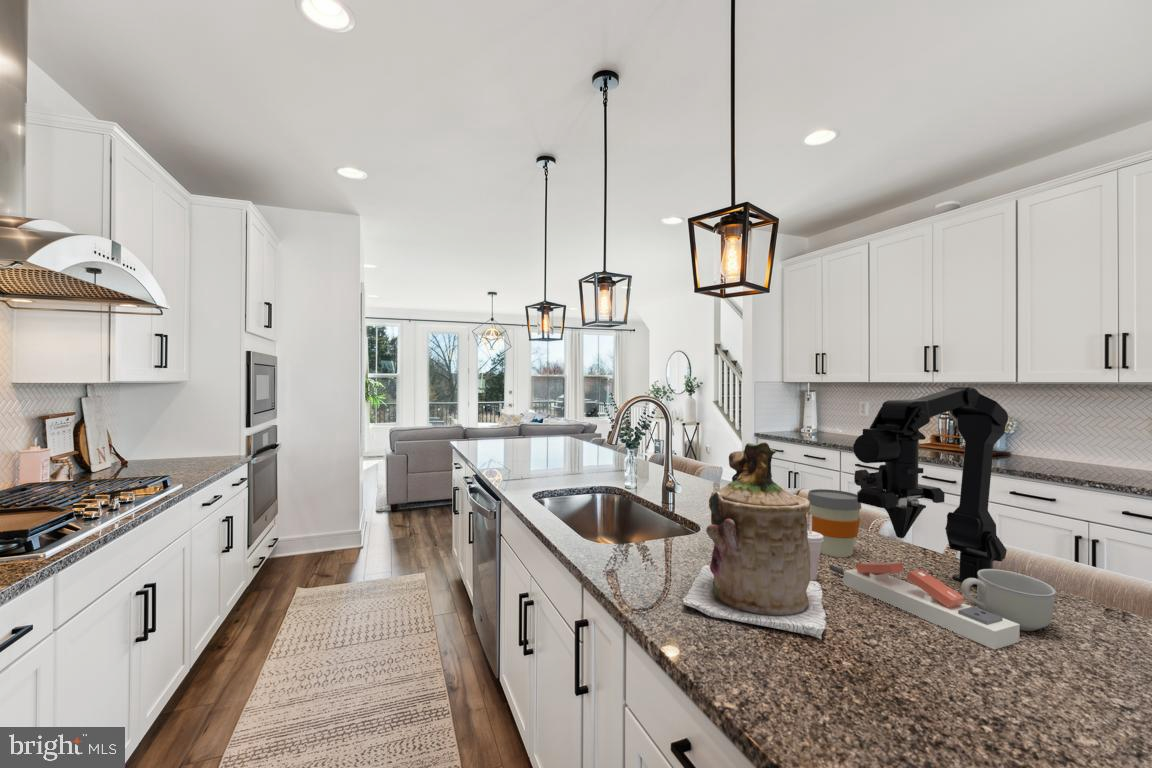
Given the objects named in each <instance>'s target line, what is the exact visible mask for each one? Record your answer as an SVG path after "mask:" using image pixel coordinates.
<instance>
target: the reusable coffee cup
mask: <svg viewBox="0 0 1152 768" xmlns="http://www.w3.org/2000/svg"><path fill="white" fill-rule="evenodd" d="M807 500H809V501H810V509H809V511H808V512H807V515H808V517H809V515H812V531H813V532H817V533H820V534H822V535H823V540H824V541H823V542H822V545H821V551H820V554H821V553H822V554H821V555H824V554H825V555H824V556H828V555H829V556H828V557H834V558H849V557H848V556H850V557H852V556H853V555H852V554H854V547H855V542H856V538H857V537H858V534H859V530H860V529H859V528H860V522H861V518H860V517H859V516H860V510H861V509H862V503H859V502H857V493H853V492H849V491H843V490H839V489H838V490H836V489H823V488H821V489H820V488H819V489H810V490H808V494H807ZM851 555H852V556H851Z"/></svg>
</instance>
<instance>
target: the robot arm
mask: <svg viewBox="0 0 1152 768" xmlns="http://www.w3.org/2000/svg"><path fill="white" fill-rule="evenodd" d="M948 412H949V414H950V415H951V416H952V417H953V418H954V419H955V420H956V421H957V422H956V423H957V425H956V426H957V430H958V432H959V435H960V436H961V437H962V439H963V440H964V450H963V451H964V452H963V462H962V463H963V464H962V473H961V483H960V484H961V485H960V493H959V494H960V496H959V504H958V506H957V508H956V509H954V511H952V512H951V511H949V512H948V513H947V514H946V525H945V527H944V529H945V534H946V538H947V542H948V547H949V549H950V550H953V551H957V552H959V573H958V574H954V575H952V576H951V577H952V579H954V580H957V581H960V582H963V581H964V580H965V579H967V578H976V579H978V575H977V572H978V571H979V570H982V569H994V562H1003V561H1004V560H1005V559H1006V556H1007V548H1006V547H1005V545H1004V544H1003V542H1002V541H1001V539H1000V538H999V537H998V535H997V524H996V522H995V520H994V518H993V517H992V515H991V514H990V512H989V503H990V502H989V499H990V490H991V489H990V488H991V477H992V467H993V454H994V446H995V445H996V443H997V442H998V441H999V440H1000V439H1001V438H1002V437H1003V436H1004V435H1005V432H1006V425H1007V424H1008V422H1009V415H1008V412H1007V411H1006V410H1005V408H1003V407H1002V406H1001V404H1000V403H998V401H996V400H994V399H992V398H990V397H988V396H985V395H983V394H981V393H980V392H979V391H978V390H977V389H975V388H973V387H971V386H950V387H947V388H946V389H944V390H941V391H938V392H933V393H930V394H928V395H925V396H921V397H918V398H915V399H889V400H888V399H887V400H886V401H884V402H883V403H882V405H881V407H880V409H879V410H878V412H877V414H876V416H875V417H874V420H873V421H872V423H871V425H870V426H869V428H863V429H862V434H861V435H858V437H857V438H856V439H855V440H854V441H855V442H854V443H853V444H852V449H853V454H854V456H855V457H856V459H857V460H859V461H860V462H861V463H864V464H876V463H877V464H879V463H884V464H880V465H879V466H878V471H875V472H869V471H868V470H867V469H858V470H854V477H853V478H854V480H853V482H854V483H855V485H856V486H858V487H859V486H860V489H859V490H858V491H857V492H856V494H857V502H859V503H861V504H864V505H868V506H872V507H875V508H880V509H884V510H885V511H886V513H887V515H888V517H889V520H890V522H891V524H892V527H893V530H894V534H895V535H896V537H897V538H899V539H904V538H905V537H906V536H907V534H908V533H909V530H910V529H911V527H912V526H913V524H914V523H915V521H916V520H917V519H918V517H919V516H920V514H921V513H922V512H923V510H924V509H926V508H927V505H925V504H922V503H920V500H919V499H926V500H931V501H932V502H933V503H936V504H940V503H945V494H946V493H945V492H944V491H943V490H942V489H941V488H940V487H937V486H931V485H926V484H920V483H919V474H924V467H919V455H920V454H919V450H920V449H919V448H920V447H919V446H920V445H919V444H920V441H924V440H926V439H927V437H926V436H925V434H923V433H922V432H921V431H920V430H919V429H921V428H923V427H925V426H926V425H928V424H929V423H930V422H931V418H933V417H936V416H938V415H942V414H945V413H948ZM972 586H974V587H977V585H976V584H973V585H972Z"/></svg>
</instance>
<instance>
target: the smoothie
mask: <svg viewBox="0 0 1152 768" xmlns="http://www.w3.org/2000/svg"><path fill="white" fill-rule="evenodd" d="M808 522H809V527H808V528H809V529H807V532H808V543H809V546H810V565H811V566H810V581H816V580H817V578H818V569H819V563H820V558H821V557H820V556H821V553H820V551H821V545H822V542H823V541H824V540H823V535H822V534H820V533H817V532H813V531H812V515H809V516H808Z"/></svg>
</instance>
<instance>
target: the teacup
mask: <svg viewBox="0 0 1152 768" xmlns="http://www.w3.org/2000/svg"><path fill="white" fill-rule="evenodd" d="M977 575H978V579H976V578H967V579H965V580H964V581H962V582H961V585H960V589H961V592H962V594H963V595H964V598H966V599H967V600H969V601H970V602H971V603H972V604H975V605H976V607H977V608H979V609H982V610H984V611H987V612H990V613H992V614H995V615H998V616H1000V617H1003V618H1004V619H1007V620H1009V621H1012V622H1015V623H1018V624H1020V631H1025V632H1026V631H1027V632H1033V631H1038V630H1040V629H1042V628H1043V629H1044V628H1046V627H1047V626H1049V625H1050V623H1051V622H1052V619H1053V616H1054V608H1055V596H1056V594H1057V591H1056V589H1055V588H1054V587H1052V586H1051V585H1050V584H1049V583H1046V582H1044V581H1042V580H1041V579H1038V578H1035V577H1032V576H1029V575H1025V574H1023V573H1018V572H1015V571H1010V570H1003V569H997V568H993V569H982V570H979V571H978V572H977ZM973 584H976V585H977V586H976V588H977V589H976V598H975V597H974V596H973V595H972V594H971V593H970V588H971V587H972V586H974V585H973Z"/></svg>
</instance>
